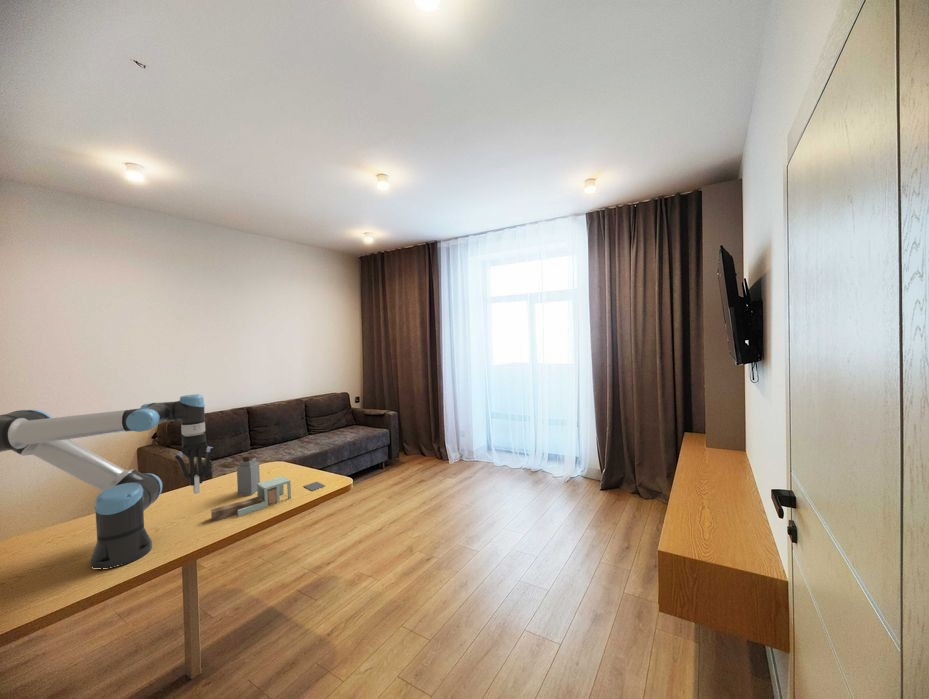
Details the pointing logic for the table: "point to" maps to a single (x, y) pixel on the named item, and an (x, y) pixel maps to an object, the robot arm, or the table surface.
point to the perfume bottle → (248, 475)
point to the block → (271, 495)
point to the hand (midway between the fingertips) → (196, 492)
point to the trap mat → (314, 486)
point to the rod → (232, 509)
